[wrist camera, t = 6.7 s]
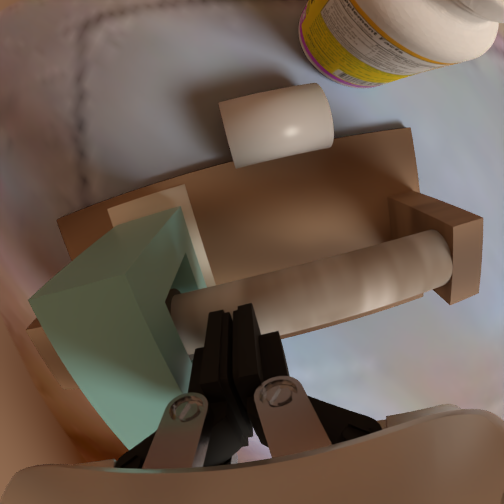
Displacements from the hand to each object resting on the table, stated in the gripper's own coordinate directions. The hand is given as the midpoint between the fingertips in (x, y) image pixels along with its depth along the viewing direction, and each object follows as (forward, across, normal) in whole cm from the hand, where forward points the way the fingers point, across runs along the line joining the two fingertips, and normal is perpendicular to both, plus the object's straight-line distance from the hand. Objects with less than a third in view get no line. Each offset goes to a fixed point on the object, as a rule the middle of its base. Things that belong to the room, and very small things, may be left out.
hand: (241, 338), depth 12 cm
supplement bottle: (+8, -10, -12) cm, 18 cm away
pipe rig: (+8, -1, 0) cm, 8 cm away
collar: (+7, +4, 0) cm, 8 cm away
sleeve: (+7, -4, -9) cm, 12 cm away
